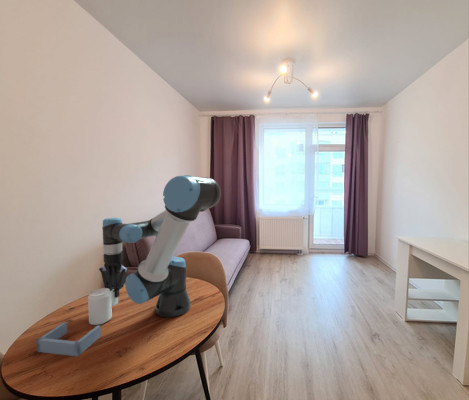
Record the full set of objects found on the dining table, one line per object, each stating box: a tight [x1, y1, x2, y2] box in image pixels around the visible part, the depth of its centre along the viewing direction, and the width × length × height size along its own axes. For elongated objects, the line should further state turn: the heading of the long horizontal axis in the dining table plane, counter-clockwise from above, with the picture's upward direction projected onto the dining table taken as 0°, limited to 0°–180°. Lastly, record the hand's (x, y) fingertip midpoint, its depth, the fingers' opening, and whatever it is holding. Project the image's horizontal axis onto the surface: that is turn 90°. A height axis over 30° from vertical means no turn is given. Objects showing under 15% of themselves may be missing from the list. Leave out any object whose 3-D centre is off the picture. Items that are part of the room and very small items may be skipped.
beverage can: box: [87, 287, 113, 326], centre depth 90 cm, size 8×8×12 cm
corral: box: [35, 321, 102, 358], centre depth 76 cm, size 15×10×4 cm, turn 81°
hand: (114, 303), depth 99 cm, fingers closed
